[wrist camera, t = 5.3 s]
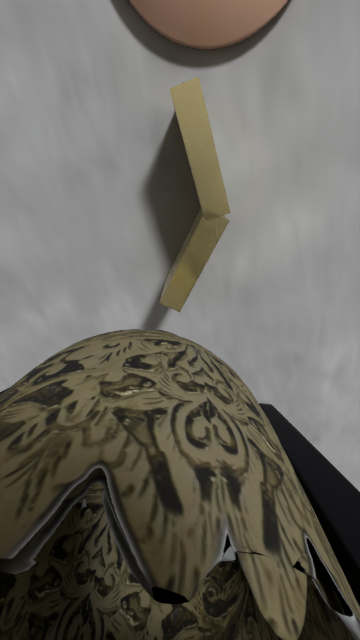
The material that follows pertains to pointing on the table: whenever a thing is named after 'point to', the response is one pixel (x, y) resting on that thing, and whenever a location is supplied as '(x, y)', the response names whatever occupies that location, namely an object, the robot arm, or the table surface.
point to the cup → (156, 505)
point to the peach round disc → (207, 19)
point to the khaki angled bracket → (208, 190)
